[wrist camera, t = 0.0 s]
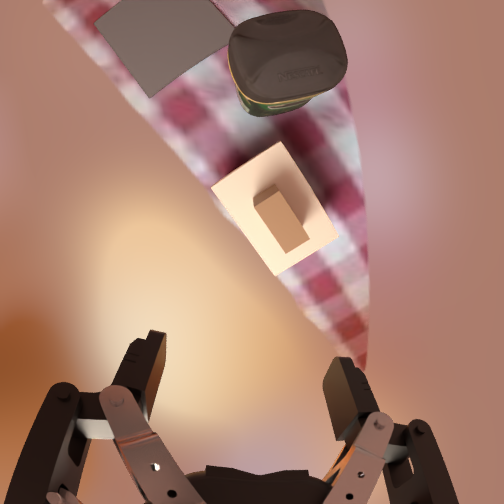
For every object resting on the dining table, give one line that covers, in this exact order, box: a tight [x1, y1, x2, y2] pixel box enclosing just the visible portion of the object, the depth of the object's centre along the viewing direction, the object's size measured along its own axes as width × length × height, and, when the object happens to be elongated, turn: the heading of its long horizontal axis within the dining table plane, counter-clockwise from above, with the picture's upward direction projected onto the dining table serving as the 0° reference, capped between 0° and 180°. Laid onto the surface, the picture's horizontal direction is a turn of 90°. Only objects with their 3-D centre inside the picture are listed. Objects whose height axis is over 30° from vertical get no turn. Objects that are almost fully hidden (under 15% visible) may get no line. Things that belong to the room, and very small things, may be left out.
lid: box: [211, 141, 339, 276], centre depth 32 cm, size 13×9×6 cm
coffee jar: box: [228, 10, 348, 117], centre depth 25 cm, size 10×8×19 cm
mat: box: [94, 0, 235, 98], centre depth 29 cm, size 18×15×1 cm
